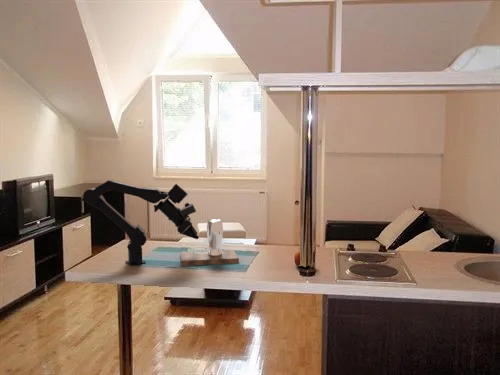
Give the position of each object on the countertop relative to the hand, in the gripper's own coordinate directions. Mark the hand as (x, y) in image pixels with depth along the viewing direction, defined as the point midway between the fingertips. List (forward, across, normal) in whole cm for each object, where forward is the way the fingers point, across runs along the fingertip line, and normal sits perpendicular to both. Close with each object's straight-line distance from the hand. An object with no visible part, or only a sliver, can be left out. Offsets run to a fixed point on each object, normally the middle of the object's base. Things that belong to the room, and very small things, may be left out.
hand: (197, 236), depth 205 cm
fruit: (+37, -18, -22) cm, 47 cm away
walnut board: (+11, 0, +4) cm, 12 cm away
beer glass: (+12, 0, +1) cm, 12 cm away
